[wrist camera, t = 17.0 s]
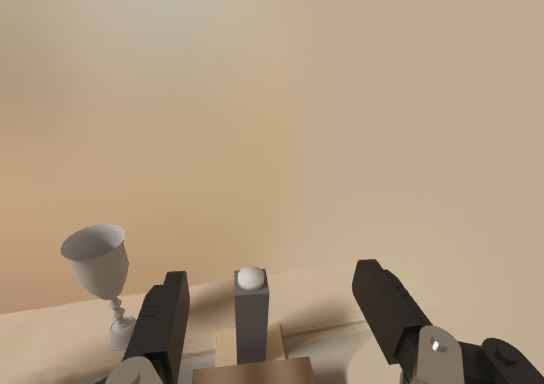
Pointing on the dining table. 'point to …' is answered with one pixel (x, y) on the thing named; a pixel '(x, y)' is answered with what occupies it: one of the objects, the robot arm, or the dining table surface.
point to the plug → (251, 314)
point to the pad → (228, 352)
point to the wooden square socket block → (259, 373)
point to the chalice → (103, 273)
